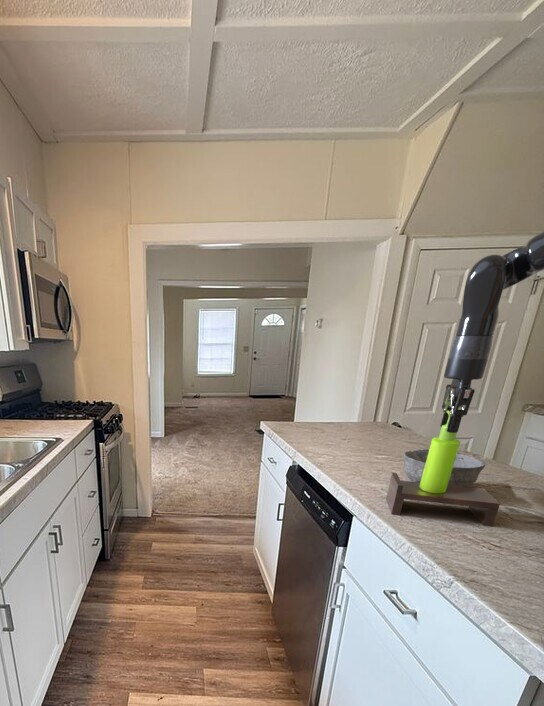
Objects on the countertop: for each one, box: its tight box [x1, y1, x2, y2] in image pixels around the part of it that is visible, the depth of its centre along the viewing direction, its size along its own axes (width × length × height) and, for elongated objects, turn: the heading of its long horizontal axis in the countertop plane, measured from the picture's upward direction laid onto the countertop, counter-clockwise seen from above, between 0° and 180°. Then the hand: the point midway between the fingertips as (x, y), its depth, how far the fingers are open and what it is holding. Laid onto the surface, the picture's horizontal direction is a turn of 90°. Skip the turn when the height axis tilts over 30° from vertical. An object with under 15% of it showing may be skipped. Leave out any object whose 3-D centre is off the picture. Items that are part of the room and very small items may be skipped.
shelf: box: [385, 472, 501, 527], centre depth 105 cm, size 22×12×8 cm, turn 69°
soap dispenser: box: [419, 411, 461, 493], centre depth 101 cm, size 6×7×20 cm
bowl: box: [403, 449, 487, 487], centre depth 122 cm, size 21×21×10 cm
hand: (448, 429), depth 99 cm, fingers closed on soap dispenser, 5 cm apart
